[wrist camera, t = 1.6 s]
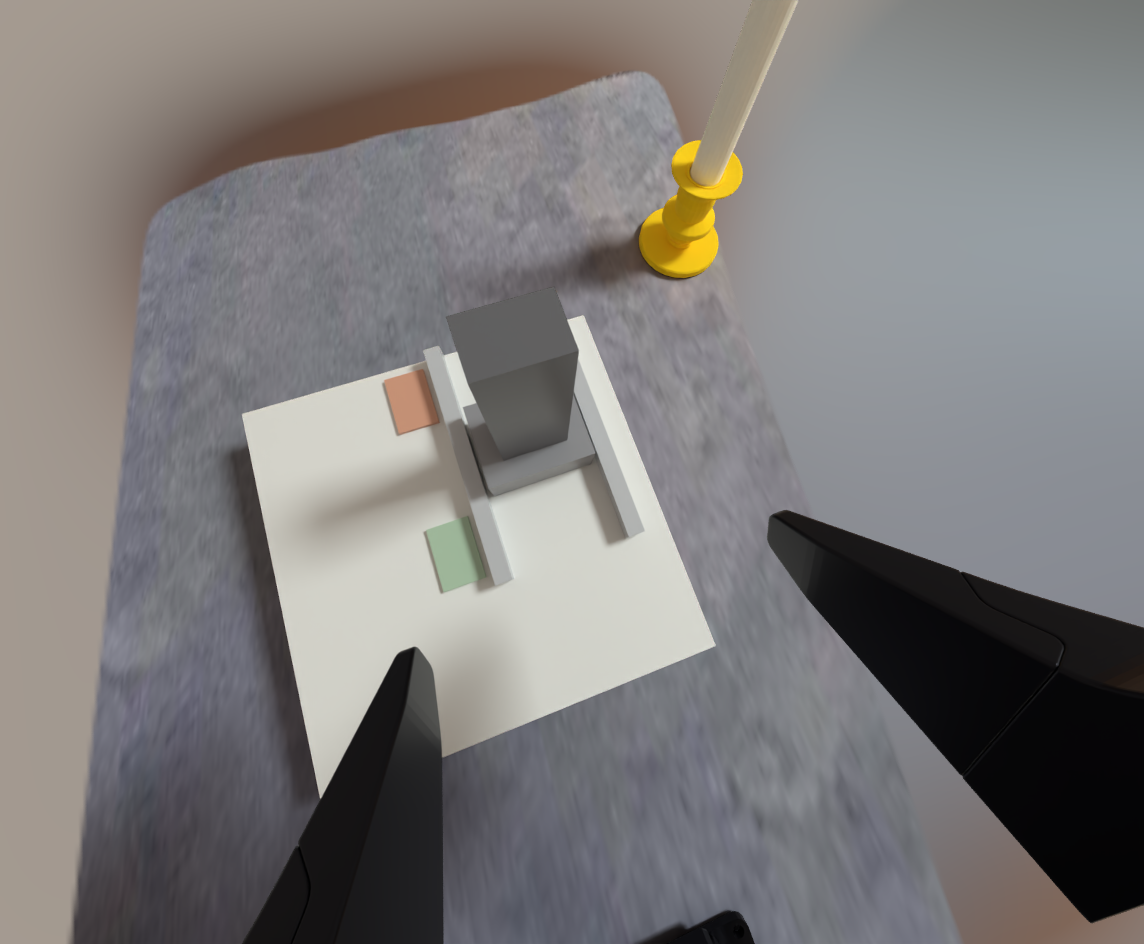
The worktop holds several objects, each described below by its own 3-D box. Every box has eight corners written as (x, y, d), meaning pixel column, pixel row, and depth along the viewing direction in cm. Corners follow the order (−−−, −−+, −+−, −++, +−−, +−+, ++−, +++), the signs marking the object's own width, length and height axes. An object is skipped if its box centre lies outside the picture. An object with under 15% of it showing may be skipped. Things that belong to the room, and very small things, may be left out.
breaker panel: (693, 634, 22) (724, 650, 18) (356, 770, 20) (307, 822, 16) (579, 343, 25) (585, 303, 21) (281, 432, 23) (226, 406, 19)
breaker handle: (591, 463, 20) (628, 373, 11) (494, 496, 20) (439, 432, 10) (564, 392, 21) (576, 247, 11) (471, 421, 20) (398, 294, 11)
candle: (731, 252, 27) (960, -140, 12) (673, 292, 26) (840, -76, 11) (680, 199, 28) (835, -233, 13) (622, 236, 27) (714, -181, 12)
